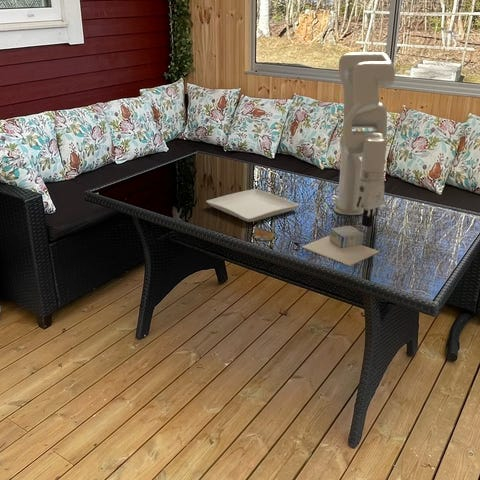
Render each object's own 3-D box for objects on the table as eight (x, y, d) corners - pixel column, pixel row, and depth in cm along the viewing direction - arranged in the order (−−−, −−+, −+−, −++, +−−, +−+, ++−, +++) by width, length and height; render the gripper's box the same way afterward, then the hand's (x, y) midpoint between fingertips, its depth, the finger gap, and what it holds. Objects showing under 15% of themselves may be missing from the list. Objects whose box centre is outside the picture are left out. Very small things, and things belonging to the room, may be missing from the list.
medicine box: (350, 236, 193) (328, 240, 191) (351, 224, 192) (329, 228, 189) (362, 244, 187) (340, 248, 184) (364, 232, 185) (341, 236, 182)
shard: (255, 229, 202) (255, 225, 201) (276, 230, 201) (276, 226, 200) (253, 241, 192) (253, 236, 191) (275, 242, 191) (275, 237, 190)
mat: (301, 247, 185) (301, 246, 185) (331, 235, 195) (331, 234, 195) (349, 266, 172) (349, 265, 172) (379, 252, 182) (379, 251, 182)
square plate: (248, 228, 203) (248, 218, 202) (205, 209, 223) (204, 199, 221) (300, 212, 219) (300, 202, 218) (255, 195, 239) (255, 187, 237)
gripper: (367, 181, 177) (362, 234, 184) (394, 173, 186) (388, 223, 193) (348, 176, 182) (344, 228, 189) (375, 168, 191) (370, 217, 198)
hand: (366, 225), depth 191 cm, fingers closed
